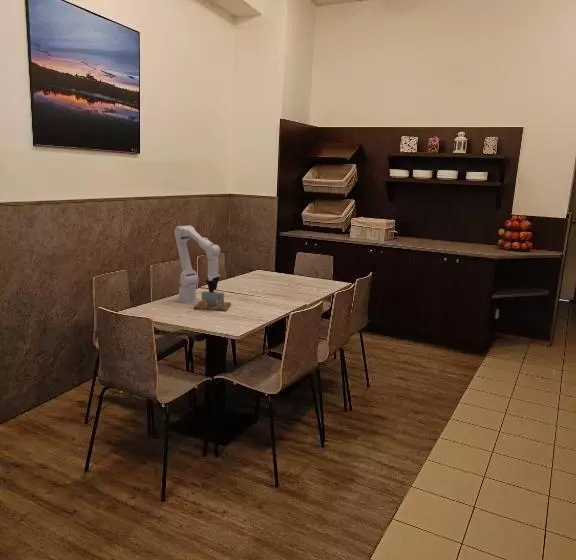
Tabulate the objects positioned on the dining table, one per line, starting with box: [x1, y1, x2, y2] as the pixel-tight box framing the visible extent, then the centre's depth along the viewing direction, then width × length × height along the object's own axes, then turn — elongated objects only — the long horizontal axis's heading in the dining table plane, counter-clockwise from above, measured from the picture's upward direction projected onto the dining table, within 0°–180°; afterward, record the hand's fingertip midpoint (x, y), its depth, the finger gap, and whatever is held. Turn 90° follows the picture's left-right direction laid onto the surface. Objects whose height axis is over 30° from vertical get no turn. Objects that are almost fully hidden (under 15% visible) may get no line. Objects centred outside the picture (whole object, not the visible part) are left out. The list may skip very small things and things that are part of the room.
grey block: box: [201, 290, 225, 306], centre depth 282 cm, size 12×4×7 cm, turn 86°
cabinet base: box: [193, 298, 232, 312], centre depth 283 cm, size 18×14×5 cm
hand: (212, 290), depth 281 cm, fingers open, 7 cm apart
